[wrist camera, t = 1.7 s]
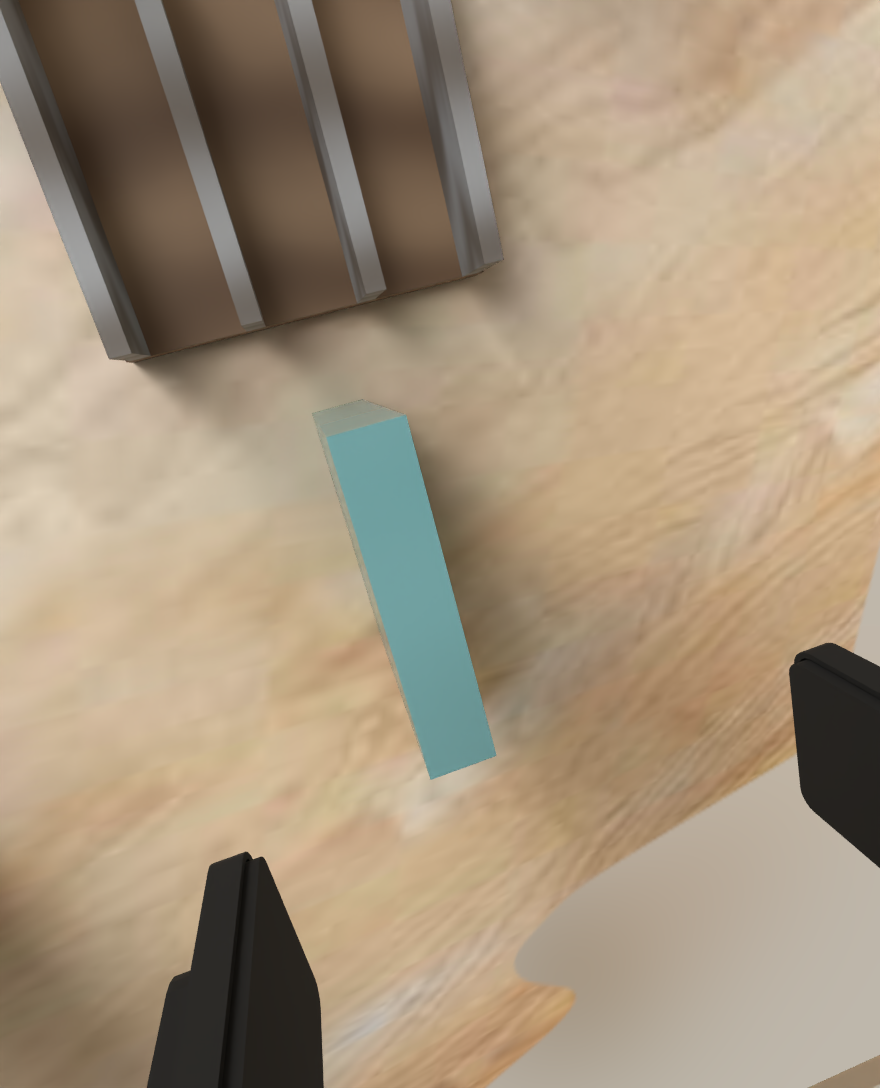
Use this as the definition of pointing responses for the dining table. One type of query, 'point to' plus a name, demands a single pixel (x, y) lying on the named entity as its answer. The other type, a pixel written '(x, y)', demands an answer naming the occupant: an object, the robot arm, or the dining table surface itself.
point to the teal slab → (406, 580)
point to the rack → (248, 157)
